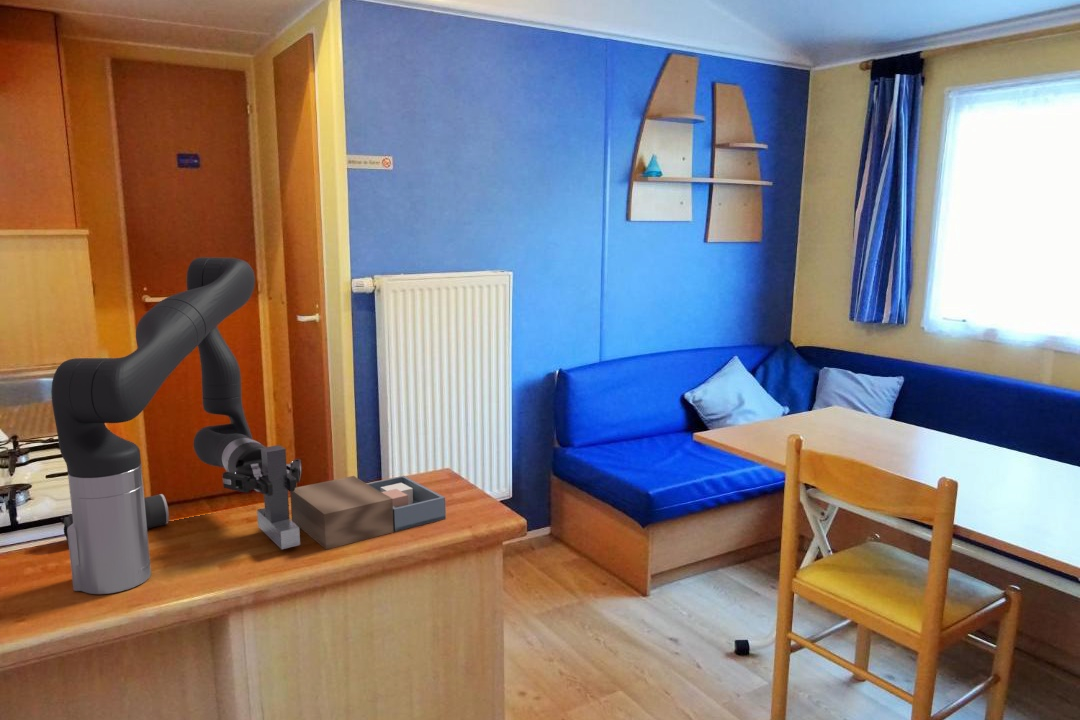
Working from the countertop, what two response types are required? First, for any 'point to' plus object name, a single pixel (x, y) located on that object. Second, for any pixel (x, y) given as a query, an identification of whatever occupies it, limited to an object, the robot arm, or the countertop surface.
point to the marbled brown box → (341, 511)
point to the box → (415, 505)
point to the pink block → (397, 497)
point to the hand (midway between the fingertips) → (281, 487)
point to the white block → (401, 488)
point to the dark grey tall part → (277, 500)
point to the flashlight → (154, 513)
